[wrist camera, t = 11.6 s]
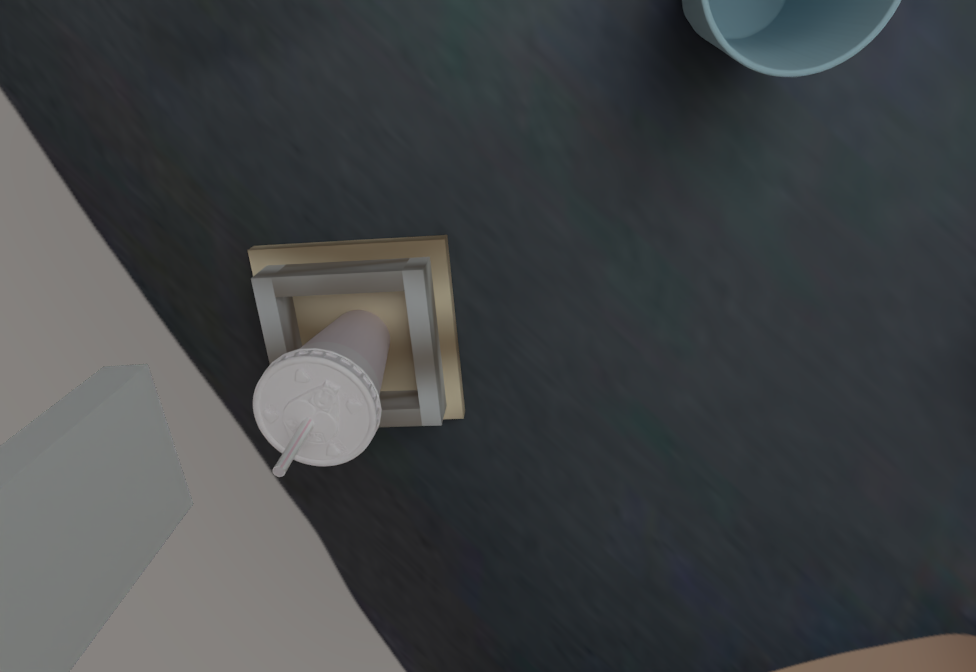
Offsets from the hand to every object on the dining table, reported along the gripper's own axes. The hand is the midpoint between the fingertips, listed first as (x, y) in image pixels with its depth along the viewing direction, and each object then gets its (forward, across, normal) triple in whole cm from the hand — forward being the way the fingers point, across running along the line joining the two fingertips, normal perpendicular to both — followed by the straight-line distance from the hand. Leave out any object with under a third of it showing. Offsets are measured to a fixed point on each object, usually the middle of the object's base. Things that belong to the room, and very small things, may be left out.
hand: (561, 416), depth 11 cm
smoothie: (+30, -12, -11) cm, 34 cm away
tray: (+30, -12, -11) cm, 35 cm away
